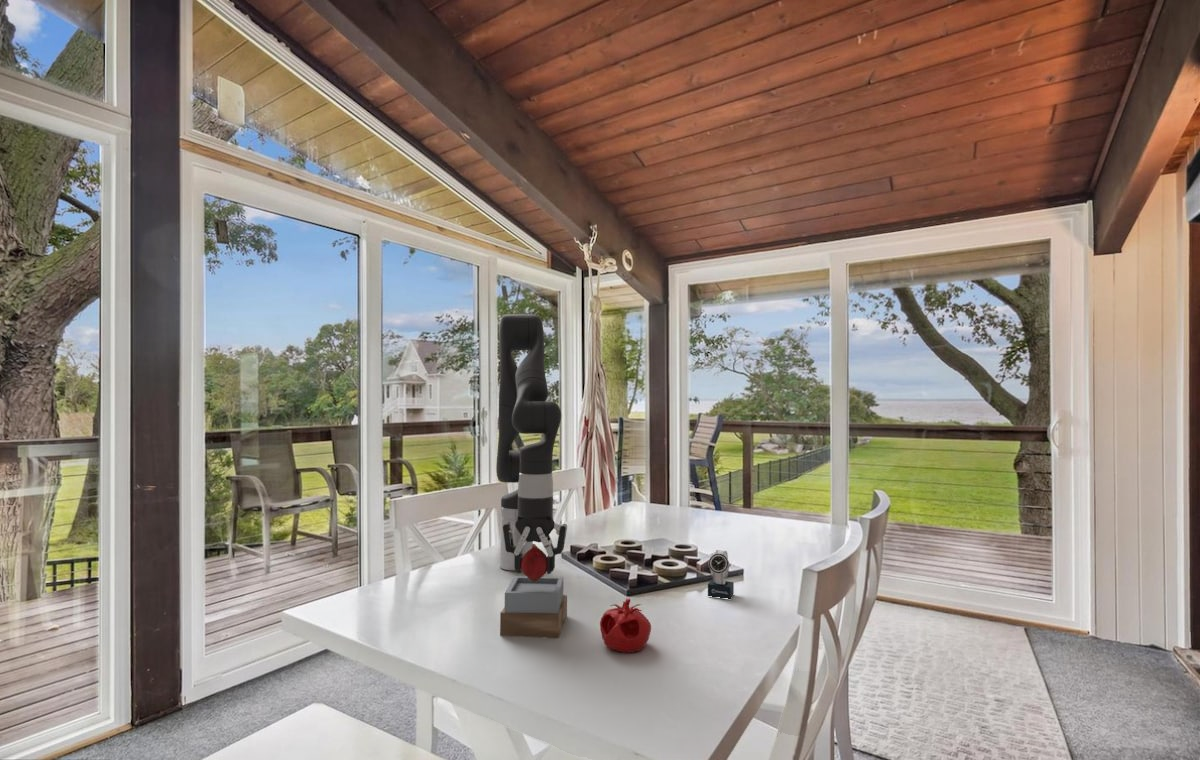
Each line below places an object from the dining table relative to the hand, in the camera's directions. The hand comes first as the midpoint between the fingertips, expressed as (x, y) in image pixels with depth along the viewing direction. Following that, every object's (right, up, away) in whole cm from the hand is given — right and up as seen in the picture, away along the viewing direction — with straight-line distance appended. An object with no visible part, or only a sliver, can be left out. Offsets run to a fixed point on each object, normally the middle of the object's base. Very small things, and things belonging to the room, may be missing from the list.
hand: (534, 572), depth 126 cm
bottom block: (0, -12, 0) cm, 12 cm away
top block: (0, -7, 0) cm, 7 cm away
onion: (0, -2, 0) cm, 2 cm away
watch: (+44, -12, +19) cm, 50 cm away
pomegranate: (+19, -11, -10) cm, 25 cm away
